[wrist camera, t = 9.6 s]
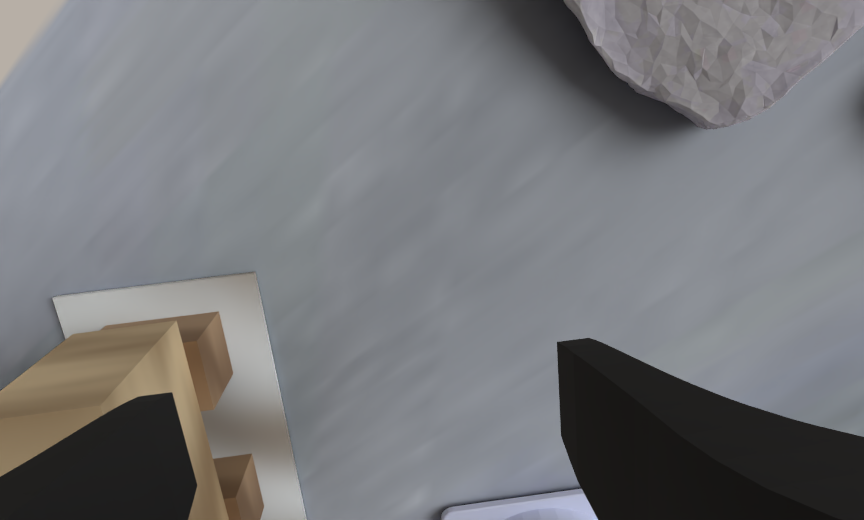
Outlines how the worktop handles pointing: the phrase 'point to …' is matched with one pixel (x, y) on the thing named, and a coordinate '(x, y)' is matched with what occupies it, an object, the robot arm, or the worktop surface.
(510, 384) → the worktop surface
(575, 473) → the robot arm
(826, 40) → the stone block
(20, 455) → the lintel
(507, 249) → the worktop surface
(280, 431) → the base with blocks
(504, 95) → the worktop surface
